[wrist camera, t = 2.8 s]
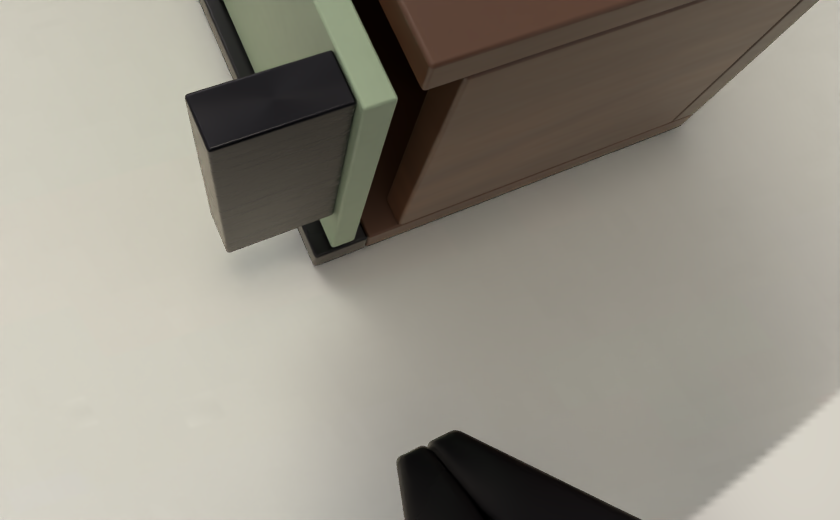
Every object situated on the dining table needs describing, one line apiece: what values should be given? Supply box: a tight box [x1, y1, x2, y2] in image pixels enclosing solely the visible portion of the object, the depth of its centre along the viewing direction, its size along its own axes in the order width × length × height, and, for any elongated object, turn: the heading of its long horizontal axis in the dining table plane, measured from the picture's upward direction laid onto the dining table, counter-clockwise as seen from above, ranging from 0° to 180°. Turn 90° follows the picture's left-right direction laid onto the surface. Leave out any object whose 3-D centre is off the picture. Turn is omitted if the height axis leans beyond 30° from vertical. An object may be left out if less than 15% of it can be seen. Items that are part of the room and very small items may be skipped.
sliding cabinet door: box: [185, 0, 398, 252], centre depth 16 cm, size 8×3×7 cm, turn 25°
